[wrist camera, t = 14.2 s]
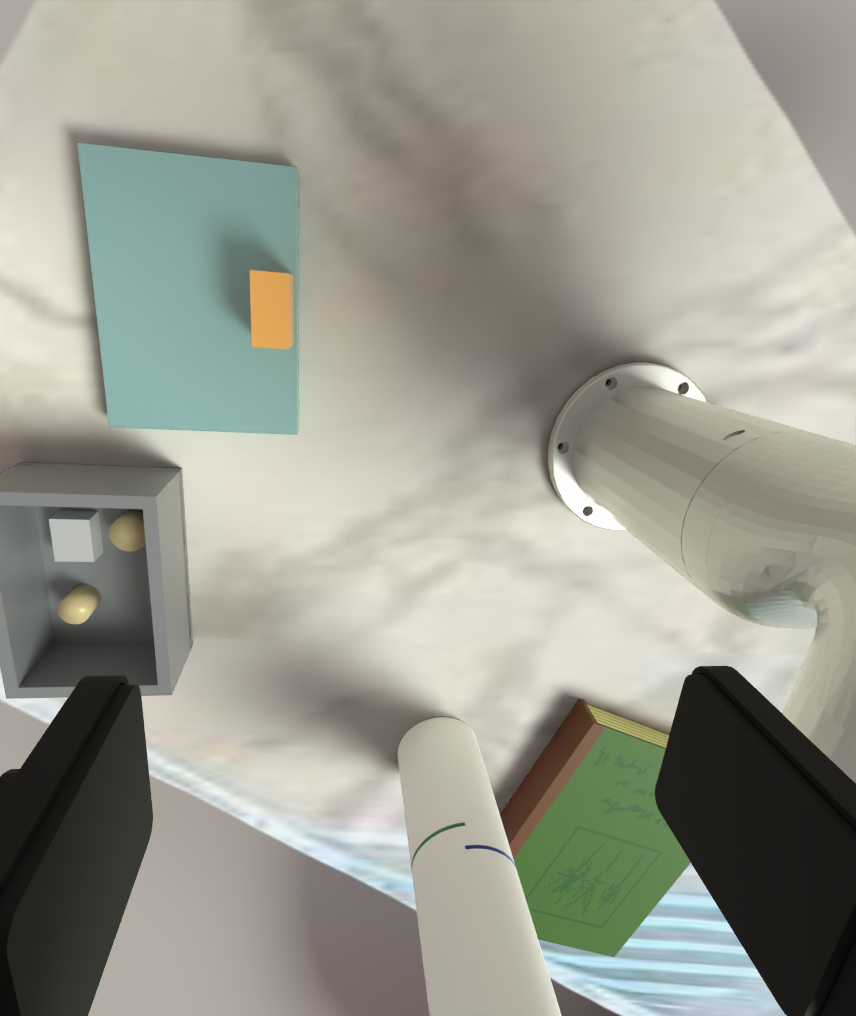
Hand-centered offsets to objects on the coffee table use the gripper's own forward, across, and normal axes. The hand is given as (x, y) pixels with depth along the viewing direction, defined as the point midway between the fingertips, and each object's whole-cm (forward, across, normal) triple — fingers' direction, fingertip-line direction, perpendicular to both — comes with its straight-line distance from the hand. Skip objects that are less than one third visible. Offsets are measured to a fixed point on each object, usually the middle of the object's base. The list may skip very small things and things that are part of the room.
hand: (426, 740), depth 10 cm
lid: (+32, +10, -6) cm, 34 cm away
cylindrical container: (+32, -8, +30) cm, 45 cm away
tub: (+32, +17, +12) cm, 38 cm away
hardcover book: (+33, -24, +40) cm, 57 cm away
